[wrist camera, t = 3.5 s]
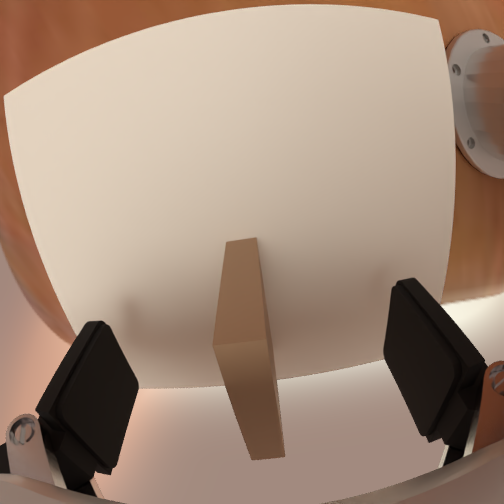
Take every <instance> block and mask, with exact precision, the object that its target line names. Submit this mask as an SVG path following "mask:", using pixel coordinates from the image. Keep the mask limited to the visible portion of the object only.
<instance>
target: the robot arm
mask: <svg viewBox="0 0 504 504" xmlns="http://www.w3.org/2000/svg"><path fill="white" fill-rule="evenodd" d="M445 53H446V59H447V64H448V70H449V77H450V84H451V92H452V102H453V113H454V127H455V142H456V144H457V146H458V147H459V149H460V150H461V152H462V154H463V155H464V157H465V158H466V159H467V160H468V161H469V162H470V164H471V165H472V166H473V167H475V168H476V169H477V170H479V171H480V172H482V173H484V174H486V175H489V176H491V177H495V178H498V179H504V40H503V39H502V38H500V37H499V36H498V35H496V34H494V33H492V32H490V31H486V30H482V29H475V30H469V31H466V32H462V33H460V34H459V35H457V36H456V37H454V39H453V40H452V41H451V42H450V44H449V45H448V47H447V49H446V52H445ZM383 355H384V359H385V361H386V363H387V365H388V367H389V369H390V371H391V373H392V375H393V377H394V379H395V381H396V383H397V385H398V387H399V389H400V391H401V394H402V396H403V398H404V400H405V402H406V404H407V406H408V409H409V410H410V413H411V415H412V417H413V419H414V422H415V424H416V426H417V428H418V431H419V433H420V434H421V435H422V436H426V438H427V440H428V442H429V443H430V442H433V441H435V440H437V439H440V438H442V439H443V441H444V444H445V448H444V451H443V455H442V458H441V461H440V464H439V467H438V469H436V470H434V471H431V472H429V473H426V474H424V475H421V476H418V477H416V478H413V479H410V480H407V481H405V482H402V483H399V484H396V485H393V486H390V487H387V488H384V489H380V490H377V491H374V492H370V493H366V494H363V495H359V496H355V497H350V498H346V499H342V500H337V501H332V502H328V503H322V504H504V361H497V362H494V363H492V364H491V365H489V367H488V366H487V365H486V363H485V359H484V358H483V357H482V355H481V354H480V353H479V352H478V350H477V349H476V348H475V347H474V345H473V344H472V343H471V342H470V340H469V339H468V338H467V337H466V335H465V334H464V333H463V332H462V330H461V329H460V328H459V327H458V325H457V324H456V323H455V322H454V321H453V320H452V318H451V317H450V316H449V315H448V314H447V313H446V311H445V310H444V309H443V308H442V307H441V306H440V304H439V303H438V302H437V301H436V300H435V299H434V298H433V297H432V295H431V294H430V293H429V292H428V291H427V290H426V289H425V288H424V287H423V286H422V285H421V283H420V282H419V281H418V280H417V279H416V278H413V277H412V278H408V279H403V280H398V281H397V282H396V286H393V287H392V289H391V296H390V305H389V313H388V321H387V328H386V335H385V341H384V347H383ZM138 389H139V383H138V380H137V378H136V376H135V374H134V372H133V370H132V369H131V367H130V365H129V363H128V361H127V359H126V357H125V355H124V353H123V351H122V349H121V347H120V345H119V343H118V341H117V339H116V337H115V335H114V333H113V331H112V329H111V327H110V326H109V325H107V324H106V323H105V322H104V321H102V320H100V321H88V322H86V323H85V325H84V326H83V328H82V330H81V331H80V333H79V334H78V336H77V337H76V339H75V341H74V342H73V344H72V345H71V347H70V349H69V350H68V352H67V354H66V355H65V357H64V359H63V360H62V362H61V364H60V365H59V367H58V369H57V371H56V372H55V374H54V376H53V378H52V379H51V381H50V383H49V385H48V386H47V388H46V390H45V392H44V394H43V396H42V397H41V399H40V401H39V403H38V405H37V407H36V409H35V410H36V412H37V413H38V414H39V415H40V416H39V418H38V419H37V418H36V417H35V416H34V415H31V414H23V415H20V416H18V417H17V418H15V419H14V420H13V421H12V422H11V423H10V425H9V426H8V428H7V431H6V443H4V444H2V445H1V446H0V504H125V503H120V502H115V501H110V500H106V499H104V497H103V495H102V493H101V491H100V489H99V487H98V484H97V482H96V480H95V478H94V473H95V471H96V472H97V473H102V474H107V475H111V472H112V469H113V468H114V467H116V465H117V462H118V459H119V454H120V451H121V447H122V444H123V440H124V437H125V433H126V430H127V426H128V423H129V419H130V416H131V412H132V409H133V406H134V403H135V399H136V396H137V393H138Z"/></svg>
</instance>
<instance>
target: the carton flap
mask: <svg viewBox="0 0 504 504" xmlns="http://www.w3.org/2000/svg"><path fill="white" fill-rule="evenodd" d="M4 104H5V114H6V122H7V129H8V136H9V142H10V148H11V153H12V158H13V163H14V168H15V173H16V177H17V181H18V185H19V189H20V193H21V197H22V201H23V204H24V208H25V211H26V215H27V218H28V221H29V224H30V227H31V231H32V234H33V237H34V239H35V242H36V245H37V248H38V251H39V253H40V256H41V259H42V261H43V264H44V266H45V269H46V271H47V274H48V276H49V279H50V281H51V284H52V286H53V288H54V290H55V293H56V295H57V297H58V299H59V301H60V304H61V306H62V308H63V310H64V312H65V314H66V316H67V318H68V320H69V322H70V324H71V326H72V328H73V330H74V332H75V334H76V336H78V334H79V333H80V331H81V330H82V328H83V326H84V325H85V323H86V322H88V321H100V320H102V321H104V322H105V323H106V324H107V325H109V326H110V327H111V329H112V331H113V333H114V335H115V337H116V339H117V341H118V343H119V345H120V347H121V349H122V351H123V353H124V355H125V357H126V359H127V361H128V363H129V365H130V367H131V369H132V370H133V372H134V374H135V376H136V378H137V380H138V383H139V388H192V387H210V386H224V385H225V387H226V389H227V393H228V395H229V398H230V401H231V404H232V407H233V410H234V413H235V416H236V419H237V421H238V424H239V427H240V429H241V433H242V435H243V438H244V441H245V443H246V446H247V449H248V451H249V454H250V456H251V459H252V460H261V459H271V458H280V457H285V450H284V442H283V432H282V423H281V414H280V405H279V397H278V388H277V380H280V379H286V378H293V377H299V376H306V375H312V374H318V373H323V372H328V371H333V370H339V369H343V368H348V367H353V366H358V365H362V364H366V363H371V362H374V361H379V360H383V359H384V355H383V347H384V341H385V335H386V328H387V321H388V313H389V305H390V296H391V289H392V287H393V286H396V282H397V281H398V280H403V279H408V278H412V277H413V278H416V279H417V280H418V281H419V282H420V283H421V285H422V286H423V287H424V288H425V289H426V290H427V291H428V292H429V293H430V294H431V295H432V297H433V298H434V299H435V300H436V301H437V302H438V303H439V304H440V303H441V299H442V294H443V289H444V283H445V278H446V272H447V266H448V259H449V252H450V244H451V236H452V226H453V215H454V200H455V172H456V154H455V127H454V113H453V102H452V92H451V84H450V77H449V70H448V64H447V59H446V53H445V48H444V43H443V38H442V34H441V30H440V25H439V21H438V20H437V19H433V18H429V17H424V16H420V15H415V14H409V13H404V12H398V11H392V10H385V9H378V8H369V7H359V6H346V5H322V4H299V5H275V6H262V7H252V8H243V9H235V10H228V11H222V12H216V13H210V14H205V15H200V16H195V17H190V18H186V19H181V20H177V21H173V22H169V23H165V24H162V25H158V26H154V27H151V28H148V29H144V30H141V31H138V32H135V33H132V34H129V35H126V36H123V37H120V38H118V39H115V40H112V41H110V42H107V43H104V44H102V45H99V46H97V47H95V48H92V49H90V50H88V51H85V52H83V53H81V54H78V55H76V56H74V57H72V58H70V59H68V60H66V61H64V62H62V63H60V64H58V65H56V66H54V67H52V68H50V69H48V70H46V71H44V72H43V73H41V74H39V75H37V76H35V77H34V78H32V79H30V80H29V81H27V82H25V83H23V84H22V85H20V86H19V87H17V88H15V89H14V90H12V91H11V92H9V93H8V94H6V95H5V96H4Z"/></svg>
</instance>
